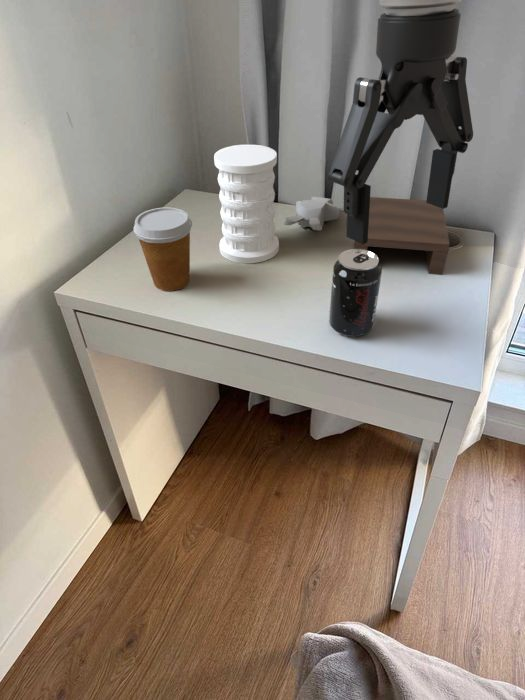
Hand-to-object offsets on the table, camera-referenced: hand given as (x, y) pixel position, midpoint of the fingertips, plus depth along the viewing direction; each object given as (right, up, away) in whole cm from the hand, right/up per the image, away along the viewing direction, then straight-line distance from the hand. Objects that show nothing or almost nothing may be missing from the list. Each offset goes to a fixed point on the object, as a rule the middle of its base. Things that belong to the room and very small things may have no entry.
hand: (398, 221), depth 60 cm
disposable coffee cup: (-32, -3, +29) cm, 43 cm away
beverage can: (-3, -12, +17) cm, 21 cm away
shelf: (+9, +4, +36) cm, 38 cm away
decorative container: (-19, +4, +37) cm, 42 cm away
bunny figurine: (-6, +11, +44) cm, 46 cm away
